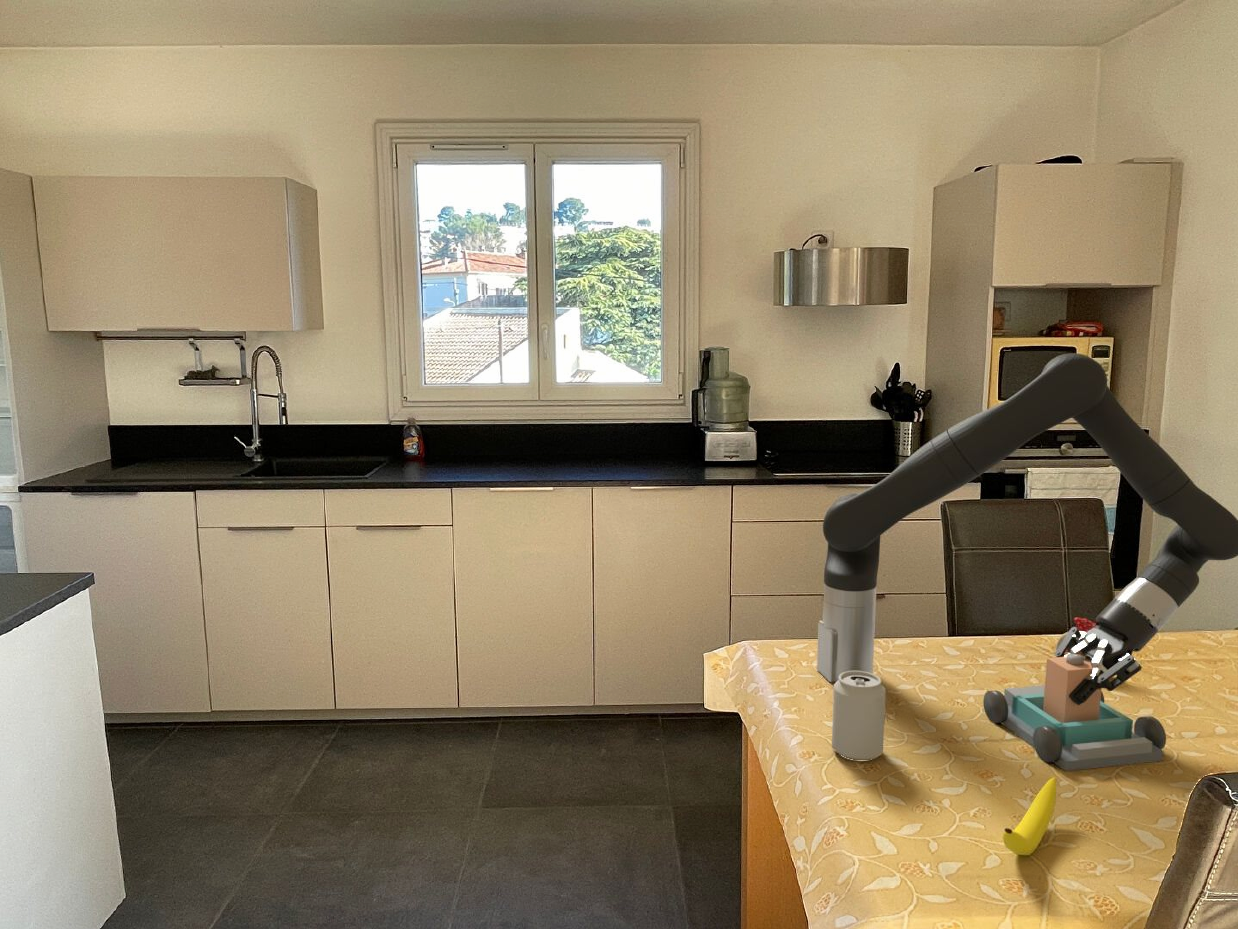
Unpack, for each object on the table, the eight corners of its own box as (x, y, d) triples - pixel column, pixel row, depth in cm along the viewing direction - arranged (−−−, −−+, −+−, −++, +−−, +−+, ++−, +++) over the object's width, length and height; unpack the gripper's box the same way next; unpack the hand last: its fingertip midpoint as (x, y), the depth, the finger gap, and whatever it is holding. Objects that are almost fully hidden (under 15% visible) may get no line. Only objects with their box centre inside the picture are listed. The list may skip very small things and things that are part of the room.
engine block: (1063, 726, 137) (1068, 664, 136) (1042, 712, 142) (1047, 652, 140) (1098, 722, 138) (1103, 661, 137) (1076, 709, 143) (1081, 649, 141)
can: (884, 745, 138) (887, 671, 136) (881, 768, 131) (884, 690, 129) (834, 738, 140) (836, 665, 138) (829, 760, 133) (831, 684, 131)
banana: (1063, 815, 118) (1067, 770, 117) (1017, 884, 104) (1021, 834, 103) (1040, 807, 120) (1043, 763, 119) (991, 874, 106) (995, 825, 105)
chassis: (1057, 772, 129) (1060, 739, 128) (979, 712, 149) (980, 683, 148) (1169, 760, 132) (1172, 728, 132) (1078, 703, 152) (1080, 675, 151)
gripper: (1090, 585, 145) (1018, 661, 145) (1158, 613, 131) (1078, 698, 131) (1117, 614, 147) (1045, 689, 147) (1186, 645, 133) (1107, 728, 133)
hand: (1061, 693), depth 139 cm, fingers closed on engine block, 5 cm apart
